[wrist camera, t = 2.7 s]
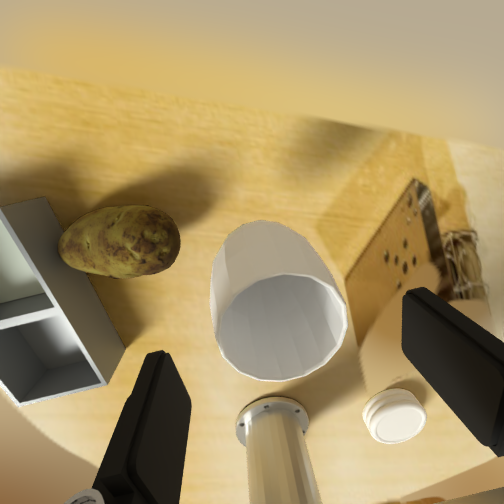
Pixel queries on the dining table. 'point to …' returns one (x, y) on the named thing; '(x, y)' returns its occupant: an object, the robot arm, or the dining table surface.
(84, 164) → the dining table surface
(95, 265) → the potato
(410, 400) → the coaster
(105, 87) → the dining table surface
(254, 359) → the cup
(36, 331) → the divided open storage box
